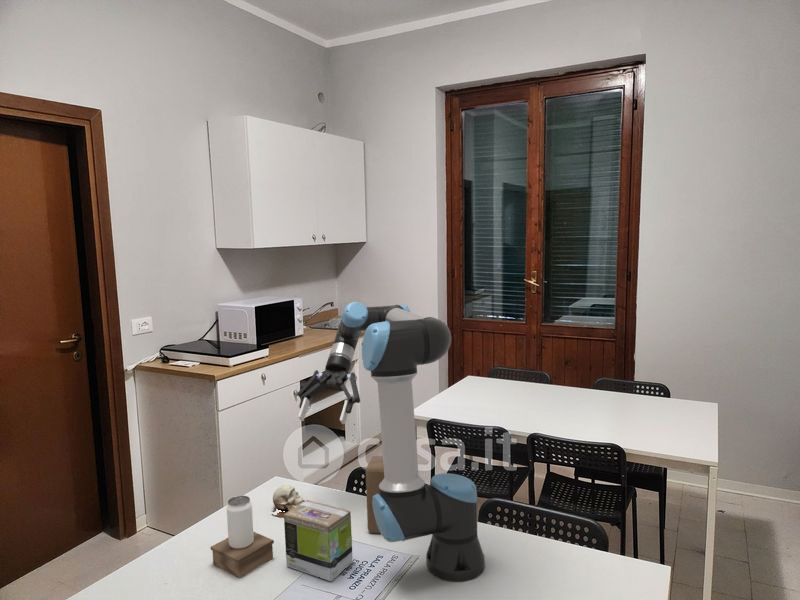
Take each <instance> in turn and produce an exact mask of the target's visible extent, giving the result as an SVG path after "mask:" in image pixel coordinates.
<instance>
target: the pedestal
mask: <svg viewBox="0 0 800 600" xmlns="http://www.w3.org/2000/svg"><path fill="white" fill-rule="evenodd" d="M253 534H254V541H253V543H252V544H251V545H250V546H248V547H246V548H243V549H234V548H232V547H231V546H229V539H228V537H227V538H225V539H223V540H221V541H219V542H217V543H216V544H214V545H211V546H210V550H211V552H212V562H213V563H212V564H213V566H216V567H217V568H220V569H221V570H223V571H225V572H227V573H229V574H231V575H233V576H235V577H236V578H239V579H241V578H242V577H244V576H246V575H248V574H250V573H251V572H253V571H254V570H256V569H258V568H259V567H261V566H262V565H264V564H266V563H267V562H269V561H271V560H272V559H274V551H273V550H274V547H273V545H274V542H275V541H274V539H272V538H270V537H267V536H265V535H262V534H260V533H258V532H255V531H253Z"/></svg>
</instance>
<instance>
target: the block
mask: <svg viewBox="0 0 800 600" xmlns="http://www.w3.org/2000/svg"><path fill="white" fill-rule="evenodd" d="M383 479H384V465H383V455H373V456H372V457H371V459H370V460H369V462H368V464H367V466H366V468H365V489H366V490H365V492H366V493H365V494H366V514H367V515H366V516H367V517H366V518H367V519H366V520H367V521H366V522H367V530H368V532H369V533H370V534H381V533H380V531H379V528H378V526H377V523H376V520H375V516H374V512H373V506H372V501H373V499H372V498H373V496H374V495H376V494H379V484H380V483H381V482H382V481H383Z"/></svg>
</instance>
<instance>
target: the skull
mask: <svg viewBox="0 0 800 600" xmlns="http://www.w3.org/2000/svg"><path fill="white" fill-rule="evenodd" d="M305 501H306V500H304V498H303V497H302V496H301V495H300V494H299V492H298V491H296V489H295V487H294V486H292V485H289V484H284V485H281V486H280V487H278V488H277V489H276V490H275V491H274V492H273V495H272V503H273V505H274V507H275V508H278V510H281V511H282V512H279V513H277V515H275V516H274V517H281V518H284V514H285V513H287V512H288V511H290V510H292V509H293V508H295V507H297V506H298V505H300V504H302V503H303V502H305ZM283 511H285V512H283Z"/></svg>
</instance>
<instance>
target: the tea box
mask: <svg viewBox="0 0 800 600" xmlns="http://www.w3.org/2000/svg"><path fill="white" fill-rule="evenodd" d="M304 501H305V502H303V503H302V504H300V505H298V506H297V507H295V508H293V509H292V510H290V511H288V512H287V513H285V514H284V517H283V519H284V520H283V522H284V523H283V525H284V539H285V540H284V541H285V543H284V545H285V558H286V560H285V561H286V566H287V567H288V568H291V569H294V570H297V571H300V572H302V573H306V574H308V575H311V576H313V577H317V578H319V577H320V579H322V580H325V581H328V582H332V581H334V580H335V579H336V578H337V577H338V576H340V575H341V574H342V573H343V572H344V571H345V570H346V569H345V568H347V567H348V566H349V565H350V564H351V563H352V564H353V540H352V539H353V536H352V517H351V511H350V510H348V509H345V508H341V507H337V506H332V505H330V504H324V503H322V502H317V501H313V500H308V499H306V500H304ZM352 564H351V565H352ZM351 565H350V566H351ZM350 566H349V567H350ZM349 567H348V568H349ZM344 569H345V570H344ZM343 570H344V571H343ZM342 571H343V572H342ZM341 572H342V573H341ZM340 573H341V574H340ZM339 574H340V575H339ZM334 578H335V579H334Z"/></svg>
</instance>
